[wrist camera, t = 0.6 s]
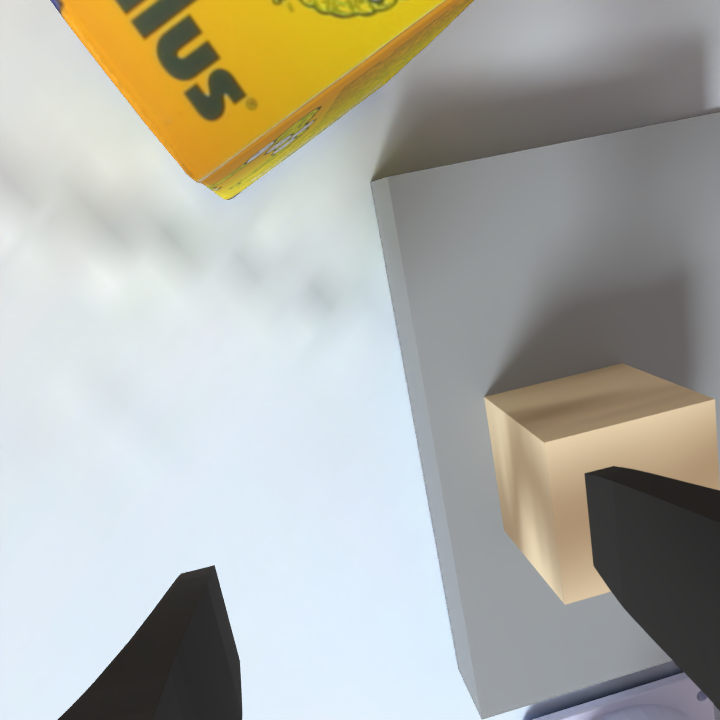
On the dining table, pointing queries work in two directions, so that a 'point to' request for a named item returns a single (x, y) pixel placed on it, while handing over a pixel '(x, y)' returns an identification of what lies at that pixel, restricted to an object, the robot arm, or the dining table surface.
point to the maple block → (589, 458)
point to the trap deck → (544, 358)
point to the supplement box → (250, 70)
